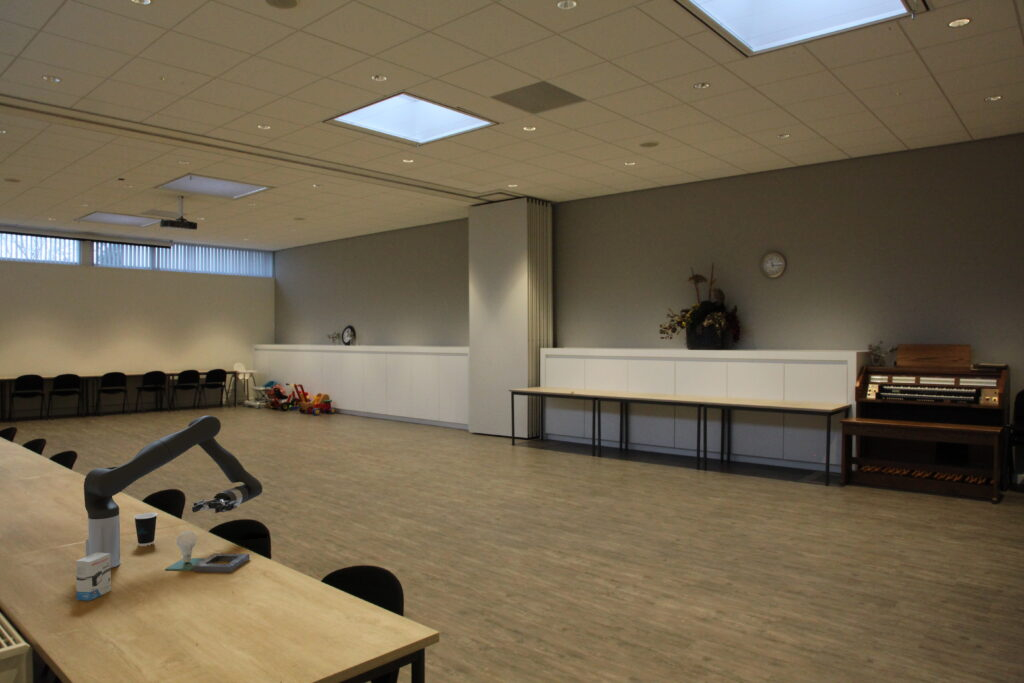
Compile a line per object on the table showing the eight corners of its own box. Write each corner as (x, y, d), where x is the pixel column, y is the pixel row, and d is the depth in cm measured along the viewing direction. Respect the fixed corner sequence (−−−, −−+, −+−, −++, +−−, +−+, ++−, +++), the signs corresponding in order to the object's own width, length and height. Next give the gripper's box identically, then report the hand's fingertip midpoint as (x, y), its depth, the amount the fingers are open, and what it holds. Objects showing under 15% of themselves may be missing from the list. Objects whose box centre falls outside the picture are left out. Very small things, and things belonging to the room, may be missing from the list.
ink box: (89, 601, 203) (89, 561, 203) (75, 600, 204) (75, 560, 204) (112, 590, 211) (111, 552, 211) (98, 589, 212) (97, 551, 212)
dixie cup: (155, 539, 264) (154, 511, 264) (160, 544, 258) (159, 515, 257) (132, 544, 259) (131, 515, 259) (136, 549, 253) (136, 519, 252)
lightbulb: (181, 560, 237) (180, 529, 237) (200, 559, 238) (199, 528, 238) (173, 566, 231) (173, 534, 231) (193, 565, 232) (192, 533, 232)
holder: (193, 571, 227) (193, 565, 227) (214, 558, 240) (214, 553, 240) (230, 572, 226) (230, 566, 226) (249, 559, 239) (249, 554, 239)
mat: (165, 570, 229) (165, 568, 229) (184, 559, 240) (184, 557, 240) (190, 570, 228) (190, 569, 228) (208, 559, 239) (208, 558, 239)
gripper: (210, 489, 263) (186, 499, 246) (245, 490, 261) (223, 499, 245) (210, 509, 262) (185, 519, 246) (245, 510, 261) (223, 520, 245)
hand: (204, 509), depth 246 cm, fingers open, 8 cm apart
